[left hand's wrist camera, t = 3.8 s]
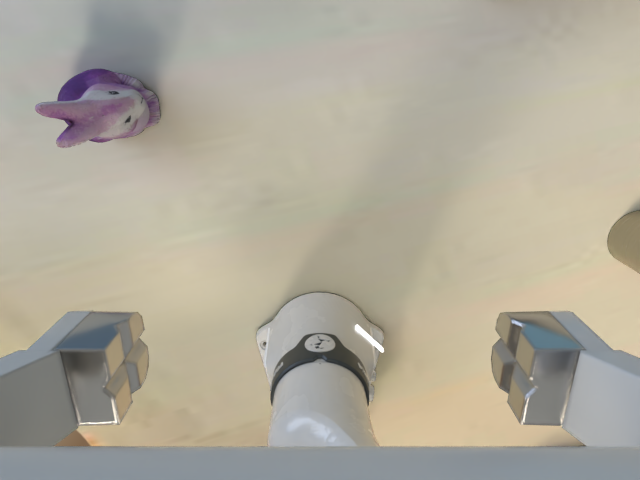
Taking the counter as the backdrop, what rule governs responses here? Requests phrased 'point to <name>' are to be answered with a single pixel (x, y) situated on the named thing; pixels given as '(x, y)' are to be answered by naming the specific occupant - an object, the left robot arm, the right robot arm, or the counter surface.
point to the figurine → (101, 107)
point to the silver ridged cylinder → (626, 240)
